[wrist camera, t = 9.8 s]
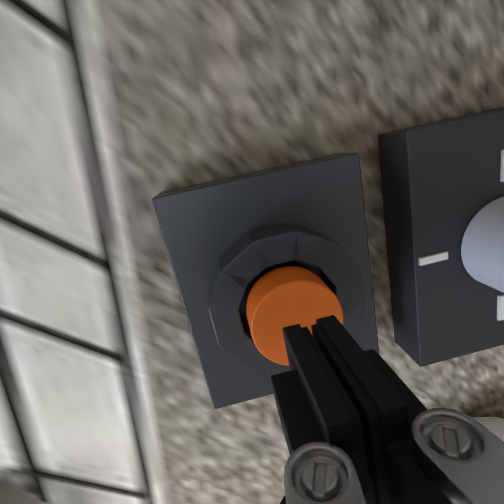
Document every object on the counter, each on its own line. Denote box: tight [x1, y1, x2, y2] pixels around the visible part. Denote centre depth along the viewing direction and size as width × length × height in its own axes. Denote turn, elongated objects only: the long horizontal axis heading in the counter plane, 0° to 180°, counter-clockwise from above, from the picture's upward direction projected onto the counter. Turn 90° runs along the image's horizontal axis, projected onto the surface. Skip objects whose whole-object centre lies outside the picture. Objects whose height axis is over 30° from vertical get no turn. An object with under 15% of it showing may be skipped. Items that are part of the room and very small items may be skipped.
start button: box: [246, 266, 343, 366], centre depth 13 cm, size 4×4×2 cm
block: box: [152, 153, 379, 409], centre depth 15 cm, size 11×9×4 cm
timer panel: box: [378, 107, 504, 366], centre depth 17 cm, size 12×9×3 cm
